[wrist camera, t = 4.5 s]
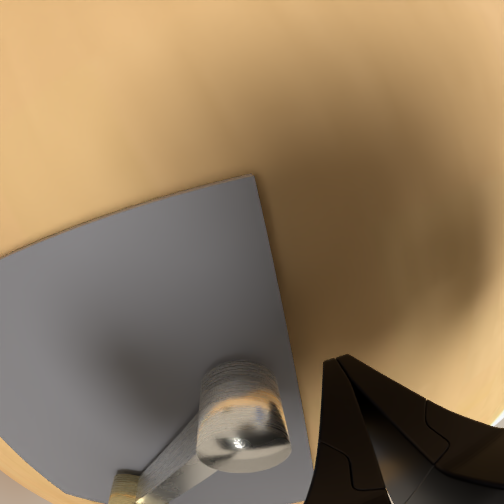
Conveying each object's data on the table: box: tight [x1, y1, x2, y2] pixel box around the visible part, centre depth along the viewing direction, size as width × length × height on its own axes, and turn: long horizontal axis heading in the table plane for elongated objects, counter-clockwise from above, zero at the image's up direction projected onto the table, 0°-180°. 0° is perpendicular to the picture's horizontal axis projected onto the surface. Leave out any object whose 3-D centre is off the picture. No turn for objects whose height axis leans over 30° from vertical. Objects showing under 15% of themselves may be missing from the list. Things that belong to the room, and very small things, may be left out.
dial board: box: [0, 174, 314, 504], centre depth 11 cm, size 22×24×1 cm
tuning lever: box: [108, 361, 292, 504], centre depth 9 cm, size 15×4×3 cm, turn 148°
